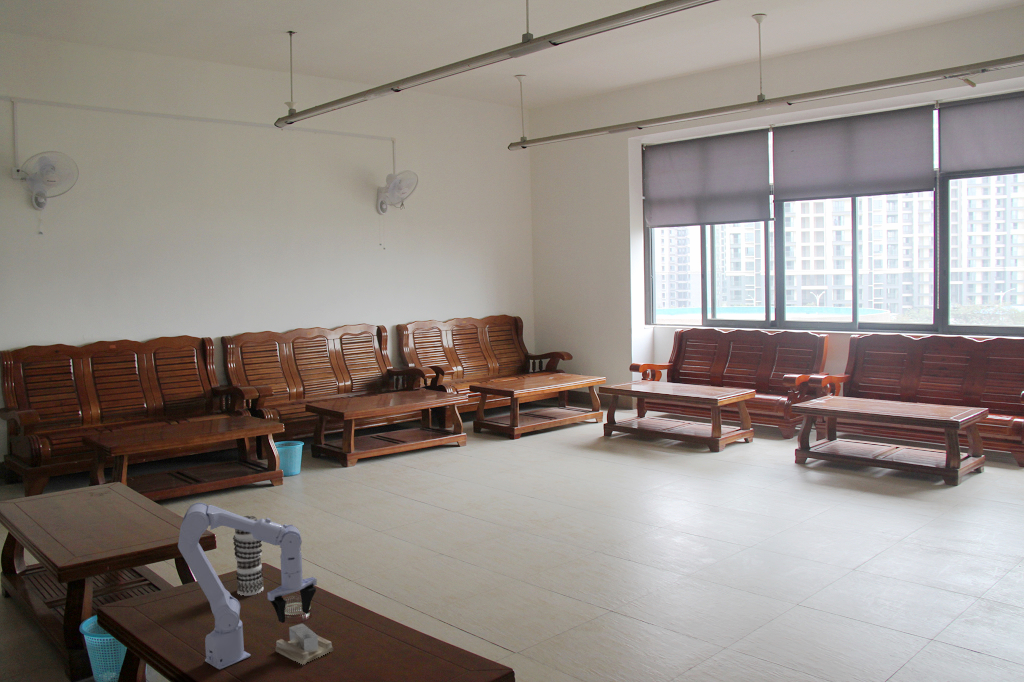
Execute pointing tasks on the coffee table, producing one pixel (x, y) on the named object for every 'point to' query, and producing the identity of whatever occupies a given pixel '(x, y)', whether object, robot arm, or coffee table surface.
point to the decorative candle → (248, 562)
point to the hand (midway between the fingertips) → (293, 617)
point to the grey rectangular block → (303, 638)
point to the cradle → (300, 654)
